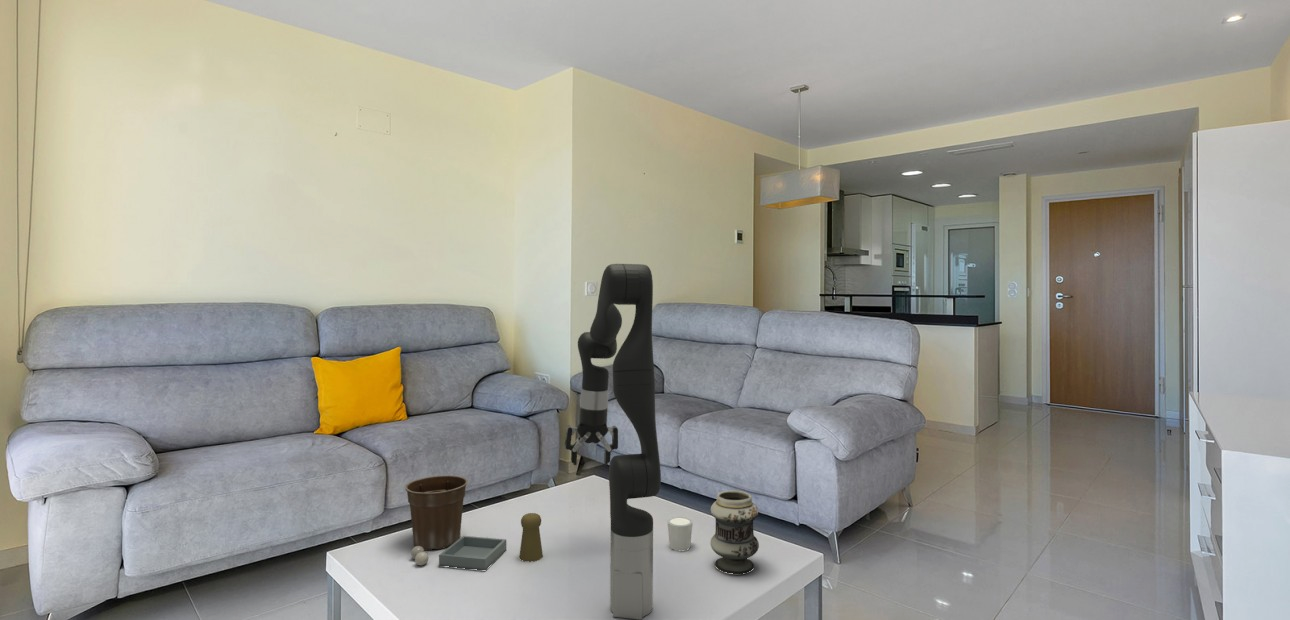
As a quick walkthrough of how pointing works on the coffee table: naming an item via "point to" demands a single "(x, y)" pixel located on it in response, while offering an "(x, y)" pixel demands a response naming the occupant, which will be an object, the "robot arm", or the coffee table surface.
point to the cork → (531, 538)
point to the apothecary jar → (734, 531)
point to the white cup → (679, 533)
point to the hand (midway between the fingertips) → (590, 464)
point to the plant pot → (436, 510)
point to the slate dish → (473, 552)
